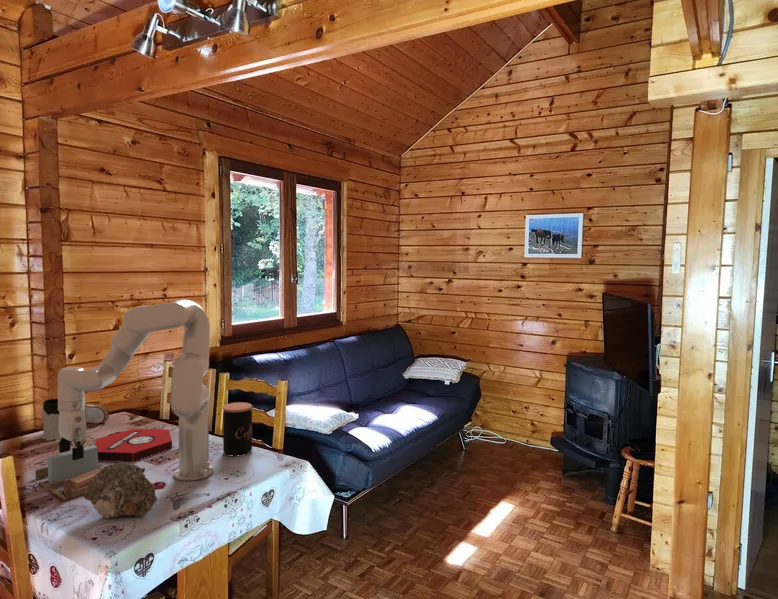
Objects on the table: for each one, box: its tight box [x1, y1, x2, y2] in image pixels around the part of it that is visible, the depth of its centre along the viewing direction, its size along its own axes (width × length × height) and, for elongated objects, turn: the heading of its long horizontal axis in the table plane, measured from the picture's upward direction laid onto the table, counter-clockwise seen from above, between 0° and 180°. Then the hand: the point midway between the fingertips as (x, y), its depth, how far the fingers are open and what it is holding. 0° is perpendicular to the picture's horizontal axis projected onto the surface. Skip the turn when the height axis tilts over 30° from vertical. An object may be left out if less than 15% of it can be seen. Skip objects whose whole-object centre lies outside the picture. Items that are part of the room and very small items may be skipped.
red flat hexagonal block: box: [94, 428, 173, 462], centre depth 197 cm, size 27×4×30 cm
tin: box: [84, 403, 110, 425], centre depth 226 cm, size 15×3×8 cm, turn 82°
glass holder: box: [42, 398, 60, 441], centre depth 209 cm, size 9×14×15 cm, turn 118°
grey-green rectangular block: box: [47, 444, 99, 485], centre depth 169 cm, size 3×14×9 cm, turn 144°
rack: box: [34, 464, 104, 502], centre depth 167 cm, size 24×18×6 cm
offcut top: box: [71, 469, 102, 489], centre depth 162 cm, size 4×10×2 cm, turn 156°
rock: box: [82, 461, 158, 519], centre depth 147 cm, size 18×14×15 cm
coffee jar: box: [222, 402, 253, 457], centre depth 194 cm, size 11×11×18 cm
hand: (71, 455), depth 168 cm, fingers open, 9 cm apart
